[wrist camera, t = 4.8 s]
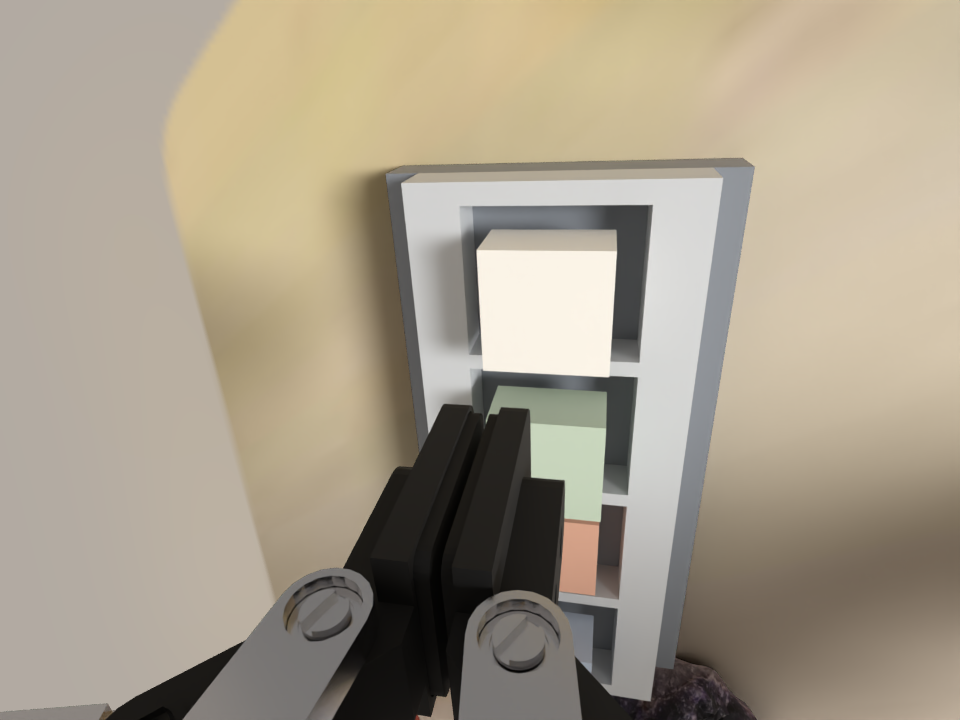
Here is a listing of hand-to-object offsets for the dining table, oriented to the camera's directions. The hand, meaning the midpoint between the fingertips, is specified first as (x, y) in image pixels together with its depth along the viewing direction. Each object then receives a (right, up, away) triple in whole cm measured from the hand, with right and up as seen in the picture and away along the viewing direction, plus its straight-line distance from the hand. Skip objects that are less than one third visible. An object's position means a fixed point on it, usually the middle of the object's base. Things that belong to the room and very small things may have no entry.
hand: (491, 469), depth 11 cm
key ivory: (+2, +5, +9) cm, 10 cm away
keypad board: (+4, -2, +17) cm, 17 cm away
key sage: (+3, -1, +12) cm, 12 cm away
